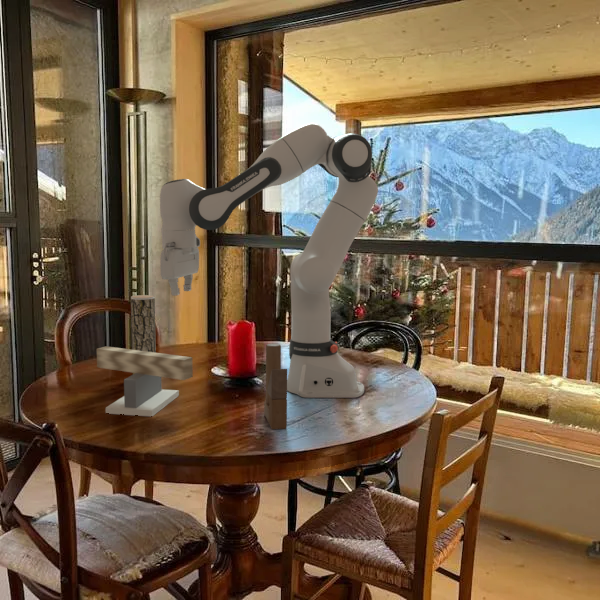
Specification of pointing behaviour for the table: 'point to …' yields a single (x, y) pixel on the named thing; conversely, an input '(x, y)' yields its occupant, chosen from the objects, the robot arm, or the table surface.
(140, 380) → the ridge stand
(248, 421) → the table surface
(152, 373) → the beige zigzag bar
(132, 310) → the grey brown tall cylinder
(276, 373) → the wooden block
